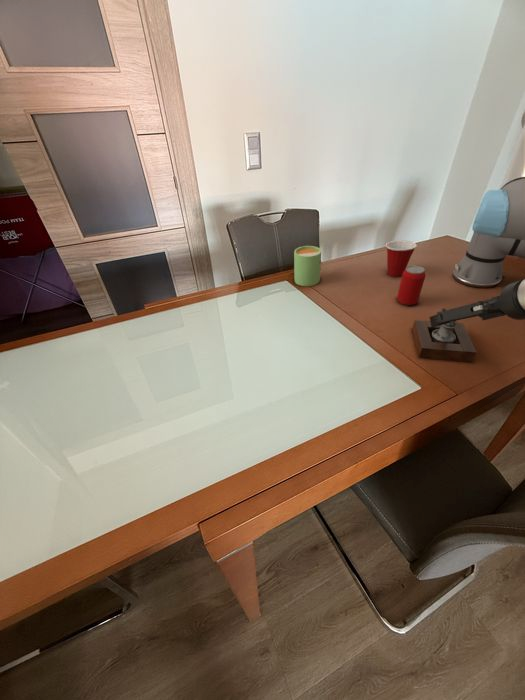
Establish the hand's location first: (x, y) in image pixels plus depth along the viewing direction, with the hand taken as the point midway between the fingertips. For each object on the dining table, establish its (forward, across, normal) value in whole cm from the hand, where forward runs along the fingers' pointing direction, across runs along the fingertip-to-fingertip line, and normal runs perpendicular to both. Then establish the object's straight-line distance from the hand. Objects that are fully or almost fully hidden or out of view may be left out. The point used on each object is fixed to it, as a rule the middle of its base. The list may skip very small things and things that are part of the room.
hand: (457, 318), depth 77 cm
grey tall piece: (+9, 0, -6) cm, 11 cm away
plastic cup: (+40, +7, +25) cm, 48 cm away
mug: (+44, -27, +29) cm, 59 cm away
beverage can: (+26, +2, +11) cm, 28 cm away
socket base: (+9, 0, -6) cm, 11 cm away
